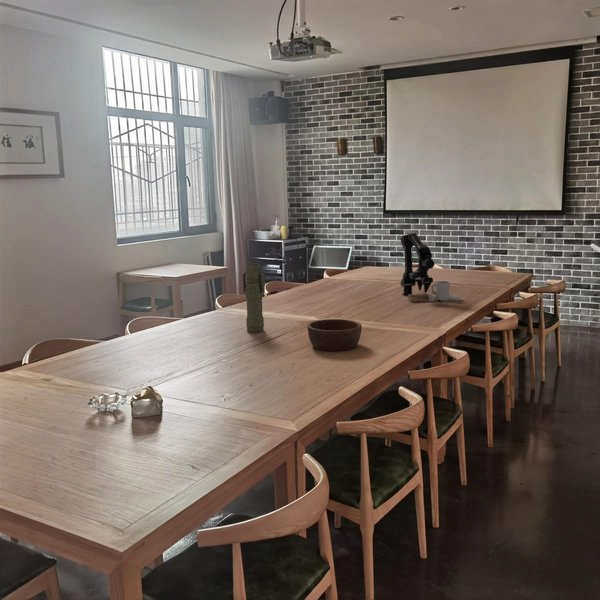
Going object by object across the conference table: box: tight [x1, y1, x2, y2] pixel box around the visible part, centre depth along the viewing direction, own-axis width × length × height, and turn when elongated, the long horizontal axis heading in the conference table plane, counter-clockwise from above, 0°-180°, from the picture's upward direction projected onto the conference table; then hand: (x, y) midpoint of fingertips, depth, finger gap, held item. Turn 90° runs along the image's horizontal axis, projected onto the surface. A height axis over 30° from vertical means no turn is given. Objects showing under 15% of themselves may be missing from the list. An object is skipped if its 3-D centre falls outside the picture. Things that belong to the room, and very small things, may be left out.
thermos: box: [242, 262, 266, 334], centre depth 316 cm, size 9×12×35 cm
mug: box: [431, 280, 451, 301], centre depth 391 cm, size 12×8×11 cm
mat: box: [434, 295, 464, 303], centre depth 393 cm, size 15×14×1 cm
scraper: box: [407, 292, 436, 303], centre depth 389 cm, size 11×14×4 cm
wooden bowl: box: [307, 318, 363, 352], centre depth 286 cm, size 25×25×10 cm
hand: (422, 291), depth 389 cm, fingers open, 9 cm apart
